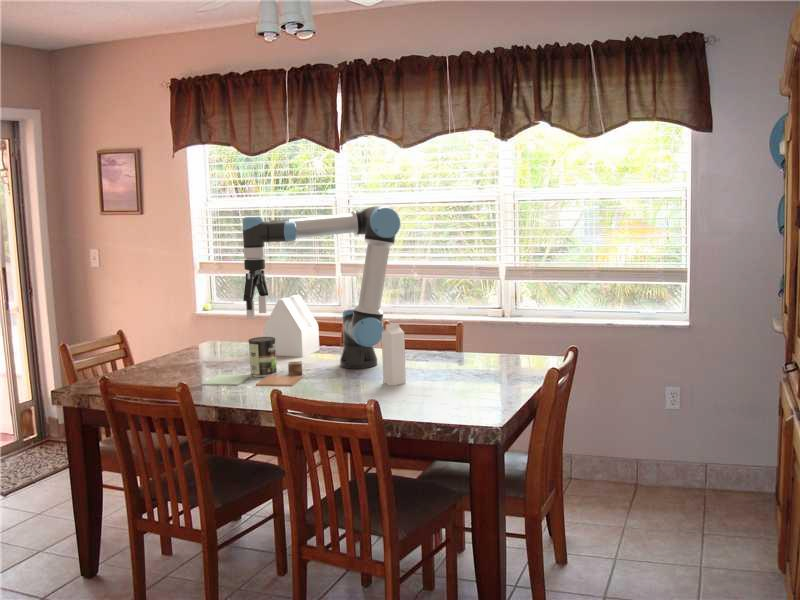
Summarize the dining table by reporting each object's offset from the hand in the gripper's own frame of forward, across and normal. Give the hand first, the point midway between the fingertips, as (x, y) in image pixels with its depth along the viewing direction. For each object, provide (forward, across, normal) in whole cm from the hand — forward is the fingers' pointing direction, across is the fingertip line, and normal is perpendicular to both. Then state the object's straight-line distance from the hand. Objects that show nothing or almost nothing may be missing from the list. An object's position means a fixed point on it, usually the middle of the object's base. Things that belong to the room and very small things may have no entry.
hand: (257, 315), depth 292 cm
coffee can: (+25, -13, -3) cm, 29 cm away
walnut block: (+25, -11, +11) cm, 29 cm away
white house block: (+25, -55, -4) cm, 61 cm away
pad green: (+25, -2, -14) cm, 29 cm away
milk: (+25, 0, +51) cm, 57 cm away
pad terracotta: (+25, -1, +7) cm, 26 cm away
